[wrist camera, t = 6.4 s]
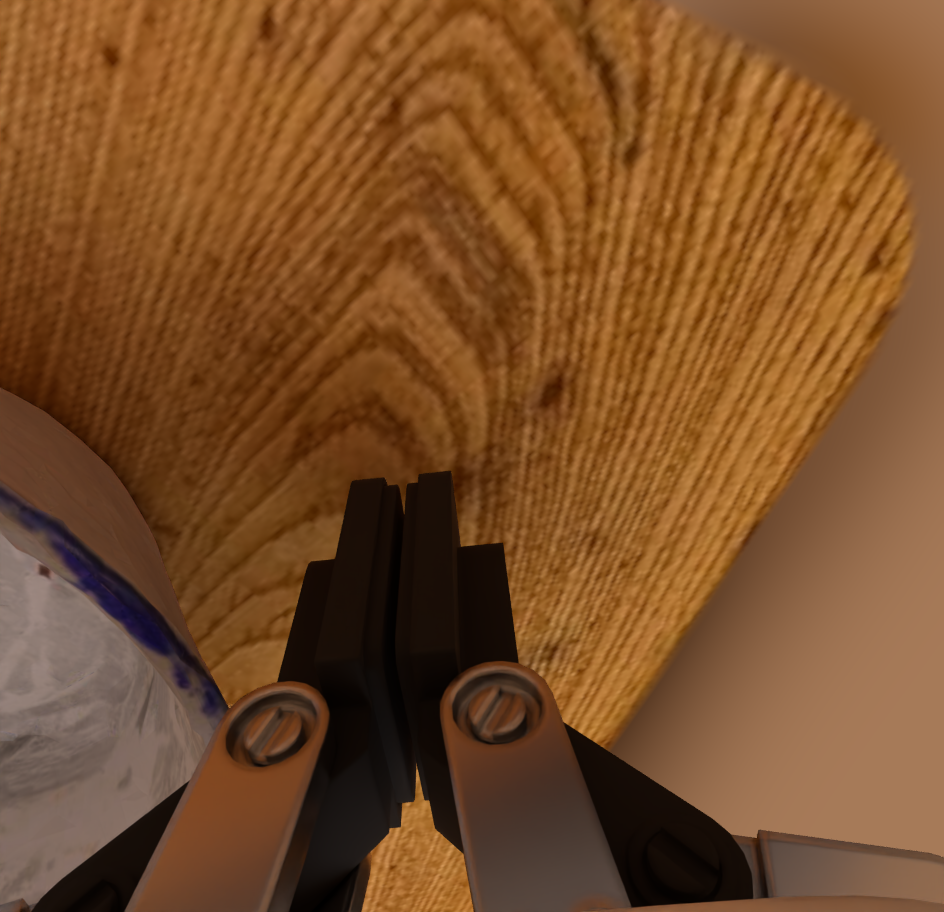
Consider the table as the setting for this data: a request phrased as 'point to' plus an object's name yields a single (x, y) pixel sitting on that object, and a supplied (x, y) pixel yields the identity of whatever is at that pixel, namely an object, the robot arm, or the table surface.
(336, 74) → the table surface
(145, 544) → the bowl
